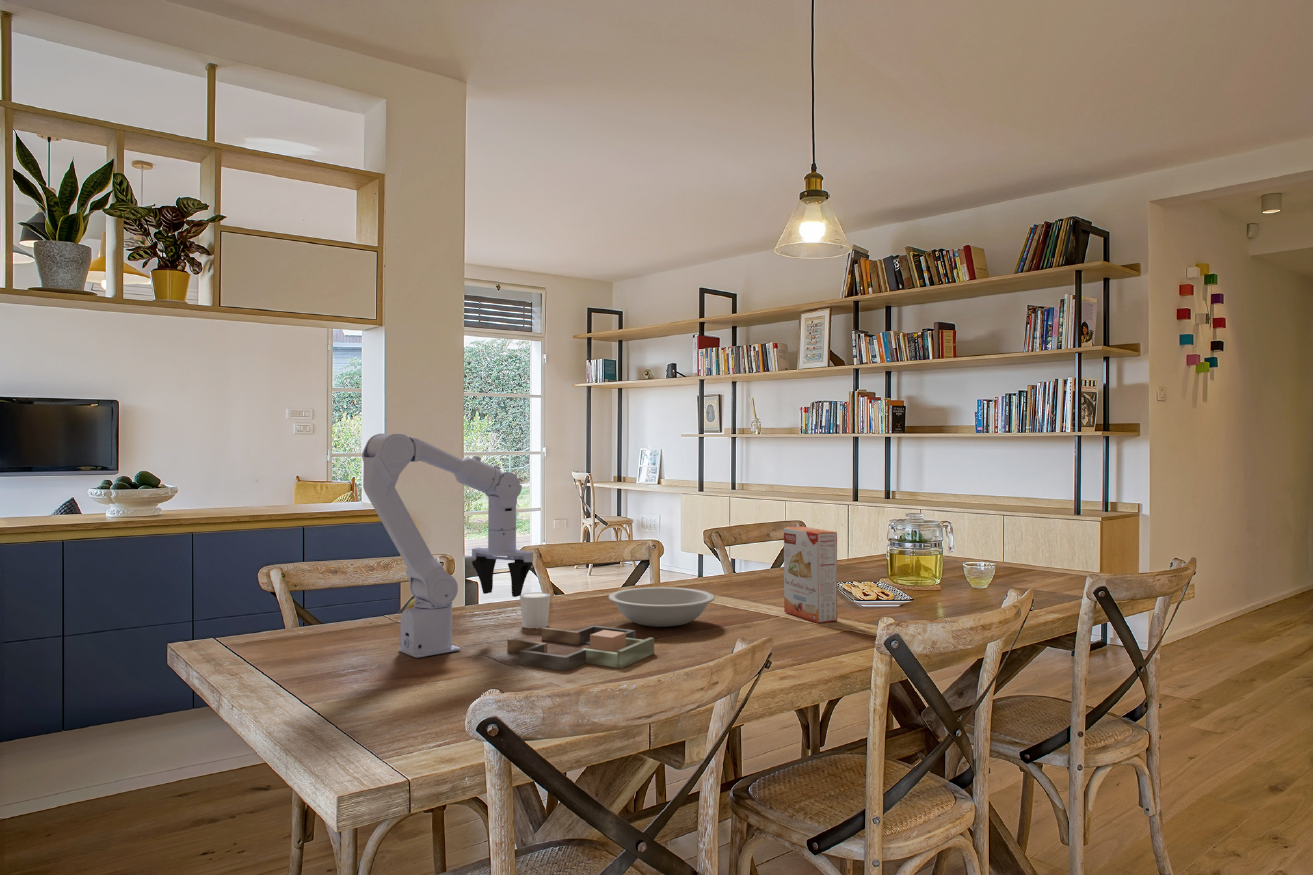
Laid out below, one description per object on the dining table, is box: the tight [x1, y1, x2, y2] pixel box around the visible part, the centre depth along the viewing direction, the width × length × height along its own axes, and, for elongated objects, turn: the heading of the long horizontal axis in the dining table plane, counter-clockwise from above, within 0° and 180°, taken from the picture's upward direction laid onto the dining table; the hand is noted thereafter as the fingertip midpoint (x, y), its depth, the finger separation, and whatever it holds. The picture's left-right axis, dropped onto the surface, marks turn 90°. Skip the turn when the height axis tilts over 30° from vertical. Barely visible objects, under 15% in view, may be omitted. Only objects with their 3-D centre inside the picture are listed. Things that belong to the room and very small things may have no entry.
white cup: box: [519, 592, 551, 629], centre depth 189 cm, size 7×7×7 cm
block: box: [589, 630, 626, 653], centre depth 162 cm, size 5×5×4 cm
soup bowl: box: [608, 586, 715, 628], centre depth 191 cm, size 24×24×7 cm
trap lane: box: [506, 625, 655, 672], centre depth 165 cm, size 26×25×3 cm
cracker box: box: [783, 525, 838, 624], centre depth 200 cm, size 14×6×21 cm, turn 25°
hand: (501, 594), depth 176 cm, fingers open, 7 cm apart
